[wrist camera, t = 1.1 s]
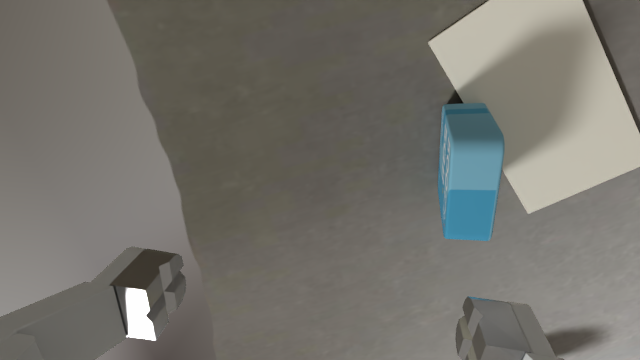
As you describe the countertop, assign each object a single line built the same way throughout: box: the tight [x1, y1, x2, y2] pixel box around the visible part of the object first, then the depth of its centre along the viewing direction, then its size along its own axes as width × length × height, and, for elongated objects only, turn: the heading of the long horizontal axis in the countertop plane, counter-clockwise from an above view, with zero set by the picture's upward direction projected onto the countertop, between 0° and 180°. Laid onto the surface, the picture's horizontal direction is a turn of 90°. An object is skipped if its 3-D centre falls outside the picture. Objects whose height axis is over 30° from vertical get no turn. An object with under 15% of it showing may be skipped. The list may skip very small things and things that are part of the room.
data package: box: [438, 103, 505, 241], centre depth 39 cm, size 12×4×12 cm, turn 6°
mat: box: [428, 0, 640, 214], centre depth 41 cm, size 14×26×1 cm, turn 37°
